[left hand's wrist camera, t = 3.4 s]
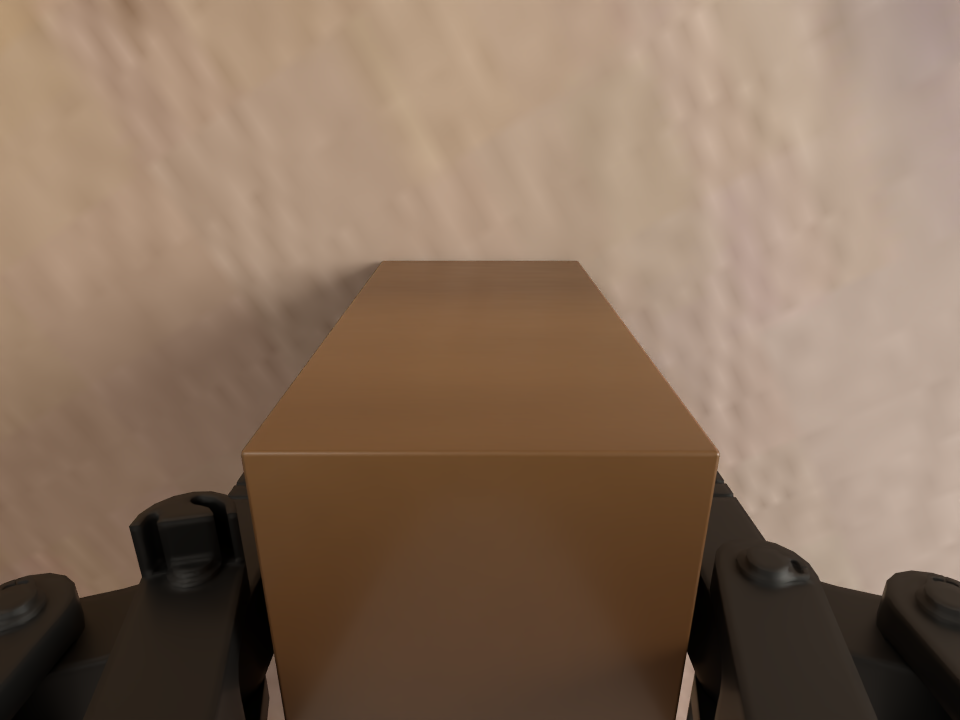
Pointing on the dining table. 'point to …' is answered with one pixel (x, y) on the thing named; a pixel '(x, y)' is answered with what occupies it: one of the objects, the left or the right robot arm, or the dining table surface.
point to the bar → (480, 506)
